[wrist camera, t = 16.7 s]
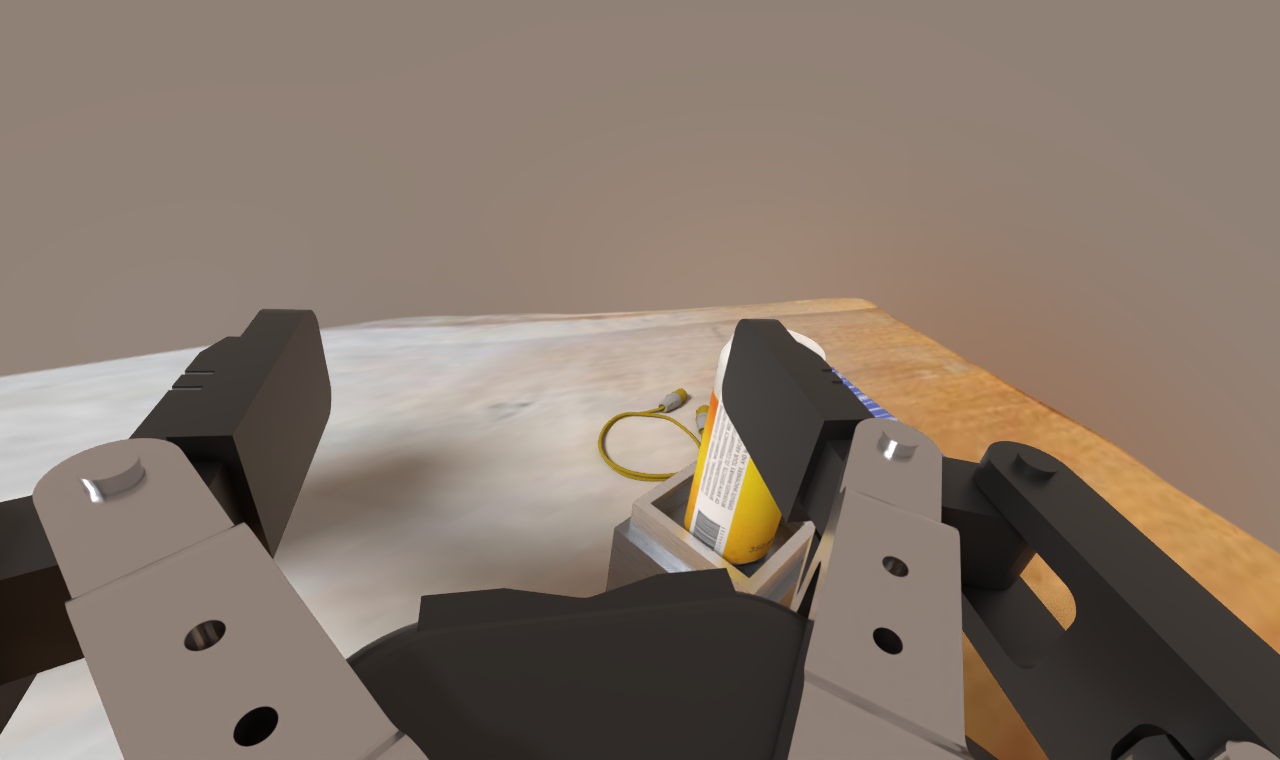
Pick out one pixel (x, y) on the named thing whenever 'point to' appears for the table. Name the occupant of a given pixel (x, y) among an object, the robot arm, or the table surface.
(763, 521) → the beer can
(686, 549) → the grey hollow box
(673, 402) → the extension cord
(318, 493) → the table surface
